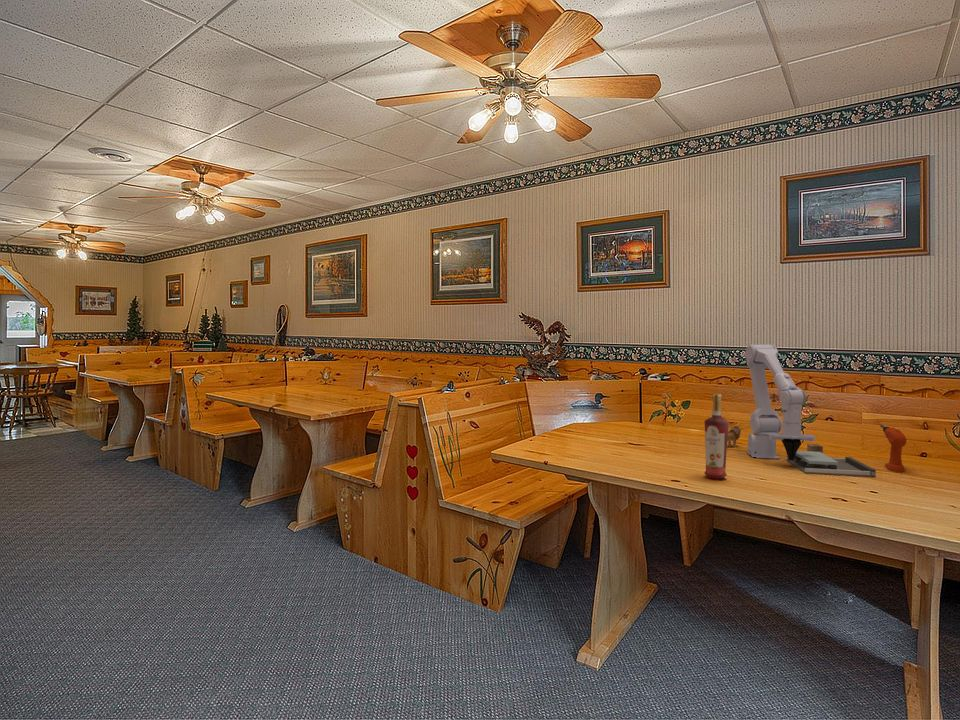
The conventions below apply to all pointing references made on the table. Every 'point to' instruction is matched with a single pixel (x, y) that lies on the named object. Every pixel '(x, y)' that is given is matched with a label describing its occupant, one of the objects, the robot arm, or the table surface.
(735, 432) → the lion figurine
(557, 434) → the table surface
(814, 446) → the block
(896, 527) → the table surface
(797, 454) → the grey flat slab
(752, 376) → the robot arm
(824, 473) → the track
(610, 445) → the table surface
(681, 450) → the table surface
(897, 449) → the toy drill
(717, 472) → the liquor
